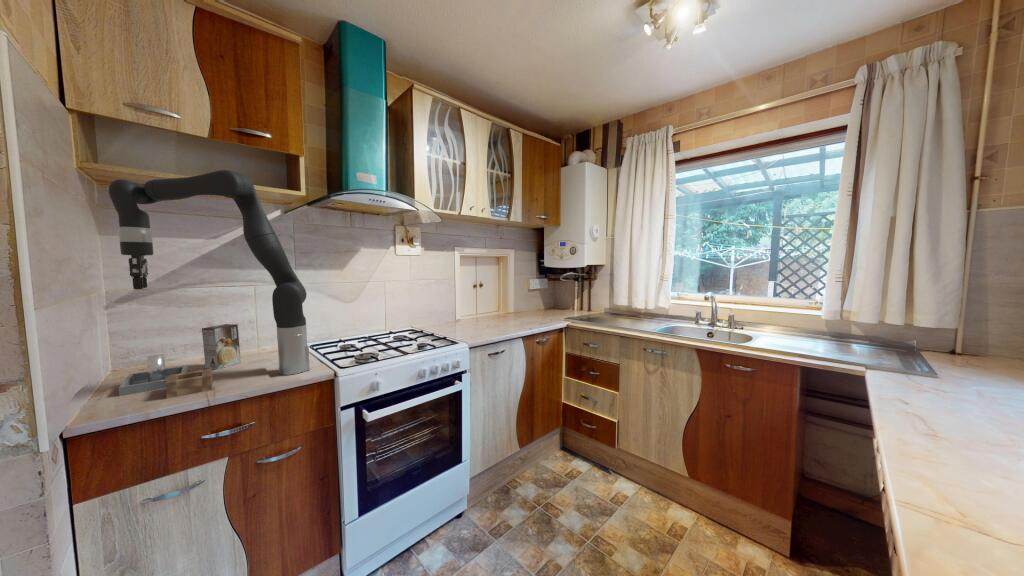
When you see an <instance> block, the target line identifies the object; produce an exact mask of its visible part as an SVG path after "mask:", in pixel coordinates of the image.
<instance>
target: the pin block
mask: <svg viewBox="0 0 1024 576" xmlns="http://www.w3.org/2000/svg"><path fill="white" fill-rule="evenodd" d="M212 370H213V369H212V368H211V369H206V368H204V369H199V370H192V371H188V372H186V373H180V374H174V375H169V377H168V379H167V381H166V388H165V393H166V394H165V396H166V399H172V398H177V397H183V396H188V395H189V396H190V395H194V394H198V393H204V392H208V391H213V381H214V380H213V371H212Z"/></svg>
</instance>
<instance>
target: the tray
mask: <svg viewBox="0 0 1024 576" xmlns="http://www.w3.org/2000/svg"><path fill="white" fill-rule="evenodd" d="M186 372H189V371H188V365H181V366H175V367H168V368H165V380H159V381H153V382H148V372H147V371H142V372H141V371H139V372H135V373H134V372H133V373H129V374H128V375H127V377H126V378H125V379H124V380H123V382H121V384H120V386H118V395H119V397H122V396H128V395H134V394H139V393H145V392H151V391H157V390H162V389H166V381H167V379H168V377H169V375H174V374H180V373H186Z"/></svg>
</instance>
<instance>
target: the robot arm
mask: <svg viewBox="0 0 1024 576" xmlns="http://www.w3.org/2000/svg"><path fill="white" fill-rule="evenodd" d="M108 195H109V197H110V198H109V199H110V200H111V202H112V205H113V207H114V208H115V211H116V213H117V215H118V224H119V227H118V228H119V229H118V230H119V231H118V238H119V248H120V249H119V251H120V254H121V256H130V257H129V258H128V266H129V269H128V270H129V276H130V277H131V279H132V289H133V290H143V289H147V288H148V280H147V278H148V275H149V268H148V264H149V263H148V259H147V258H145V256H153V255H154V244H153V234H152V230H151V222H150V216H149V215H150V214H149V213H148V212H146V211H144V210H142V209H141V208H139V205H150V204H151V205H152V204H155V203H158V202H162V201H163V202H164V201H175V200H176V201H179V200H185V199H190V198H192V197H195V196H217V197H224V198H228V199H232V200H233V201H234V203H235V204H236V206H237V207H238V209H239V211H240V214H241V217H242V228H243V229H242V231H243V236H244V240H245V241H246V244H247V245H248V247H249V250H250V251H251V253H252V254H253V256H254V257H255V259H256V260H257V261H258V262H259V263H260V265H262V267H264V268H265V270H267V272H268V273H269V275H270V277H272V278H271V279H272V280H273V282H274V284H275V286H276V287H275V288H274V289H273V291H272V296H271V297H272V298H271V299H272V301H271V302H272V310H273V311H272V312H273V318H274V322H275V323H276V339H277V355H278V356H277V358H278V370H279V371H278V373H279V374H280V375H285V376H286V375H296V374H300V373H304V372H306V371H310V370H311V369H310V368H311V367H310V350H309V349H310V347H309V344H308V336H307V319H306V316H305V314H304V311H303V309H304V308H303V303H304V302H305V301H306V299H307V290H306V288H305V287H304V285H303V284H302V282H301V281H300V279H299V278H298V276H297V275H296V273H295V271H294V270H293V268H292V266H291V264H290V261H289V259H288V257H287V254H286V252H285V251H284V248H283V246H282V244H281V241H280V240H279V239H280V238H278V236H277V234H276V232H275V229H274V228H273V226H272V224H271V222H270V221H269V218H268V216H267V214H266V213H265V210H264V209H263V206H262V204H261V201H260V199H259V196H258V193H257V190H256V188H255V185H254V183H253V181H252V180H251V179H250V178H249V177H248V176H247V175H245V174H244V173H240V172H236V171H233V170H229V169H220V170H215V171H212V172H208V173H203V174H198V175H192V176H186V177H185V176H184V177H172V178H157V179H150V180H147V181H146V182H145V183H140V182H135V181H131V180H126V179H121V178H119V179H115V180H113V181H112V182H110V184H109V186H108Z"/></svg>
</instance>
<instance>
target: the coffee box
mask: <svg viewBox="0 0 1024 576" xmlns="http://www.w3.org/2000/svg"><path fill="white" fill-rule="evenodd" d="M201 332H202V342H203V343H202V344H203V346H202V347H203V355H204V365H205V366H204V369H206V368H207V369H211V368H212V370H217V369H218V370H221V368H222V369H224V367H225V368H228V367H231V366H234V365H238V364H241V363H242V360H241V351H240V350H241V349H240V348H241V347H240V339H239V337H240V336H239V325H238V324H234V323H233V324H232V323H224V324H219V325H214V326H213V325H212V326H207V327H202V328H201Z"/></svg>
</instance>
